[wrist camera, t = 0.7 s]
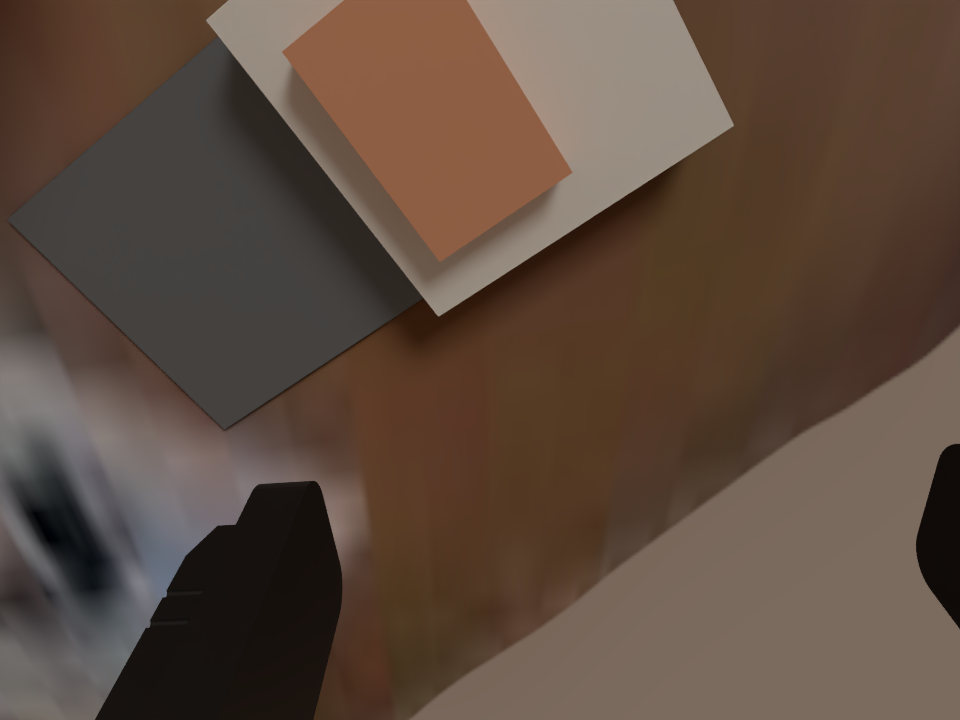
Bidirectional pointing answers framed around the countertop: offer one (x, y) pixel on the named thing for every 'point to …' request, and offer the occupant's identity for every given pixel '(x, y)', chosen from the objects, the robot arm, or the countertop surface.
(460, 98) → the block
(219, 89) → the mat
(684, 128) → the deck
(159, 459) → the countertop surface
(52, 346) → the countertop surface
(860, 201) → the countertop surface
